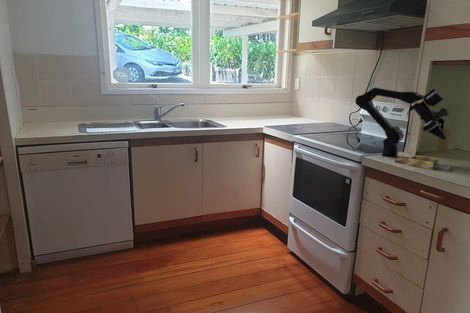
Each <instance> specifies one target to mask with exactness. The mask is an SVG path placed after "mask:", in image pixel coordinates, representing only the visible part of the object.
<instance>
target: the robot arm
mask: <svg viewBox="0 0 470 313" xmlns="http://www.w3.org/2000/svg"><path fill="white" fill-rule="evenodd" d="M378 96H379V97H385V98H390V99H396V100H399V101H402V102H403V103H405V104H406V103H407V104H413V105H409V109H408V111H409V112H413V111H414V112H415V113H416V114H417V115H418V116H419V119H420V120H422V121H423V123H424V124H423V126H422V130H423V131H424V132H425V133H426V132H427V133H430V134H432V135H434V136H436V137H437V138H438V137H439V138H441V139H443V140H444V139H446V138H445V136H444V134H443V132H442V131H441V129H446V127H445V125H446V122H447V120H446V118H445V117H447V116H451V114H450V110H449V108H445V107H442V108H440V110H438V111H435V110H432V109H431V108H430V107H435V106H437V105H438V104H439V103H441V102H443V101H444V100H445V97H444V96H443V94H442V92H439V91H438V90H437V89H436V88H432V89H431V90H430V91H429V92H428V93H426V94H424V95H422V94H420V93H419V92H418V91H398V90H394V89H393V90H392V89H387V88H381V87H372V88H371V89H370V90H369V91H366V92H364V93H363V94H362V95H361V94H360V95H357V96H356V99H355V104H356V106H358V108H361V109H362V110H364V111H366V112H367V113H368V114H369V115H370V117H371V118H372V119H373V120H374V121H375V122H376V123H377V124H378V125H379V127H380V128H382V130H383V131H384V134H385V136H386V138H385V139H383V140H382V144H383V150H382V154H381V156H384V157H390V158H396V157H398V155H399V147H398V146H399V143H400V142H401V141H403V139H404V136H405V134H404V133H403V132H404V131H403V130H402V129H401V128H400V126H398V125H392V124H391V123H390V122H389V121H388V120H387V119H386V118H385V117H384V115H383V114H381V112H380V111H379V110H378V109H377V107H375V106H374V103H373V100H374V99H375V98H376V97H378ZM419 101H420V102H419Z"/></svg>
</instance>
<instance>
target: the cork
mask: <svg viewBox="0 0 470 313" xmlns="http://www.w3.org/2000/svg"><path fill="white" fill-rule="evenodd" d="M441 131H442V132H443V134H444V136H445V138H446V139H444V140H443V139H441V138H439V137H438V136H437V139H436V142H435V145H434V147H433V151H434V152H436V153H442V154H445V153H446V154H447V153H448V152H449V136H450V135H451V130H450V129H448V128H445V129H441Z"/></svg>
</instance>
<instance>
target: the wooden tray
mask: <svg viewBox="0 0 470 313" xmlns="http://www.w3.org/2000/svg"><path fill="white" fill-rule="evenodd" d="M394 163H397V164H403V165H406V166H410V167H416V168H422V169H427V170H428V169H429V170H436V171H442V172H449V171H450V170H451V169H452V165H448V164H443V163H439V159H438V158H432V157H427V156H421V155H412V156H410V157H408V158H407V157H401V156H399V157H397V158H395V159H394Z"/></svg>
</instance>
